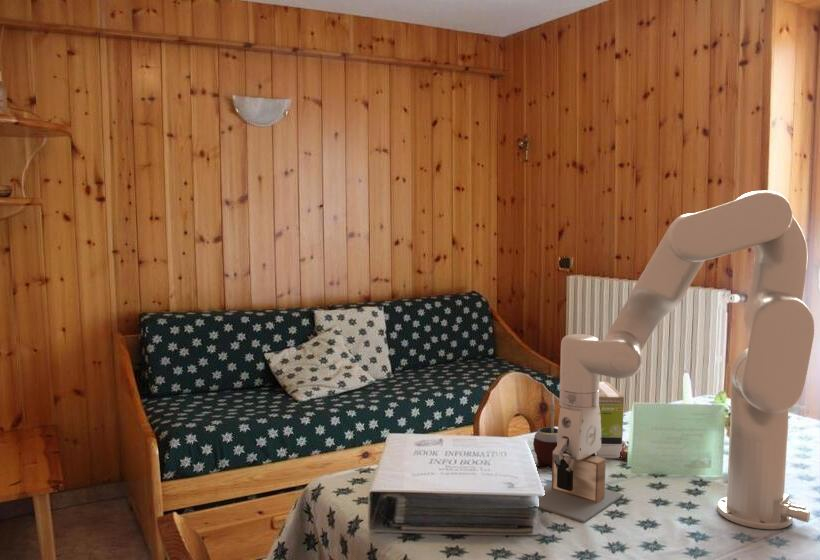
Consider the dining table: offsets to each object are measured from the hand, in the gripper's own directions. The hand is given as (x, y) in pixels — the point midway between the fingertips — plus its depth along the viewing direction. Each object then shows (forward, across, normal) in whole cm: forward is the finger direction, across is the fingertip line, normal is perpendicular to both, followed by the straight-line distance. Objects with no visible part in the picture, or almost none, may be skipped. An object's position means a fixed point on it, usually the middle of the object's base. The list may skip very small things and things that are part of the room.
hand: (577, 481), depth 140 cm
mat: (+3, -2, 0) cm, 4 cm away
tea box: (+3, +28, +11) cm, 30 cm away
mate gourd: (+3, +11, +13) cm, 17 cm away
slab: (+2, 0, 0) cm, 2 cm away
